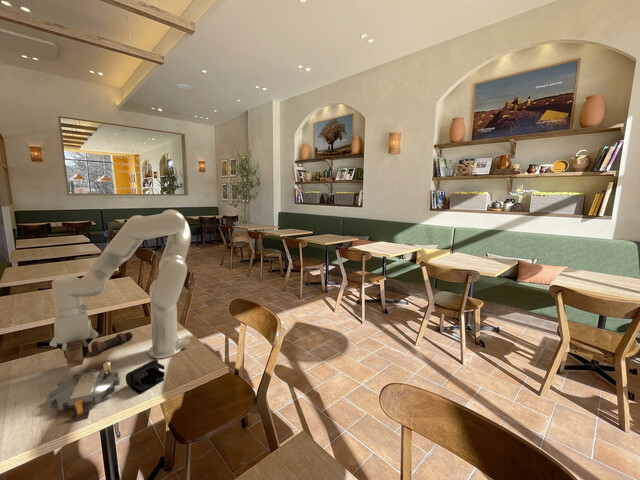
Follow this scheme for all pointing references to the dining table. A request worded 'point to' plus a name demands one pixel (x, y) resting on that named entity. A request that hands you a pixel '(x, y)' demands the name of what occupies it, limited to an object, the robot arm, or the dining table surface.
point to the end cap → (145, 377)
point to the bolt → (110, 342)
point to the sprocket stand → (80, 413)
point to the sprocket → (84, 388)
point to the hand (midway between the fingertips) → (77, 356)
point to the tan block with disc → (74, 354)
